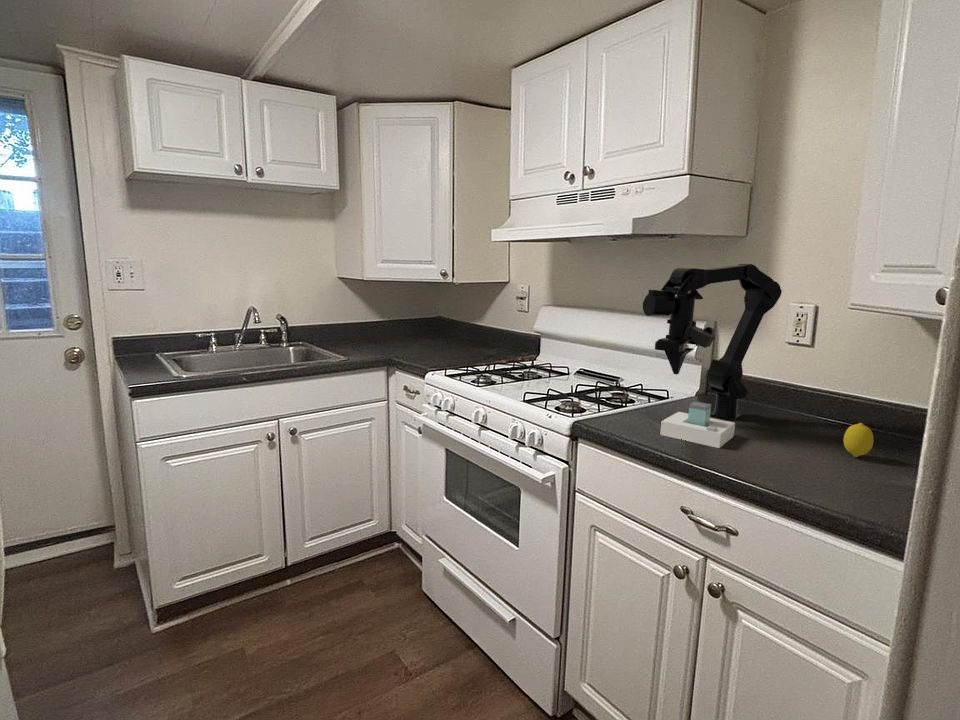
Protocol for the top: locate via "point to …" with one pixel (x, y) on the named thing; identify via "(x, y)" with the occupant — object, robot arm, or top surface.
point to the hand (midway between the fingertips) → (676, 374)
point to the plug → (699, 414)
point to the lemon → (858, 439)
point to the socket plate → (698, 430)
